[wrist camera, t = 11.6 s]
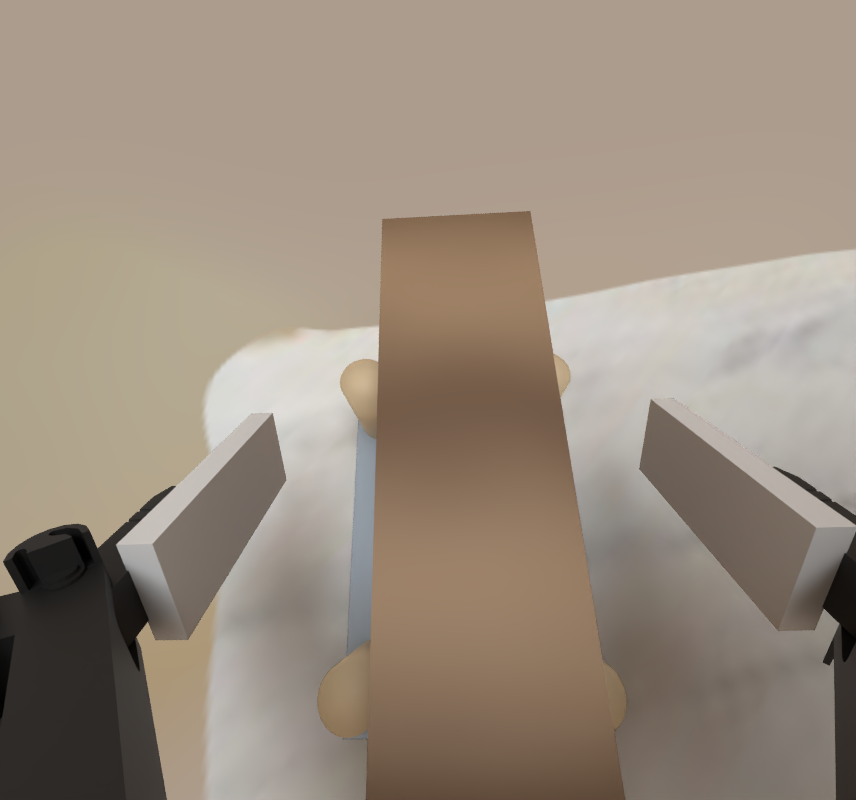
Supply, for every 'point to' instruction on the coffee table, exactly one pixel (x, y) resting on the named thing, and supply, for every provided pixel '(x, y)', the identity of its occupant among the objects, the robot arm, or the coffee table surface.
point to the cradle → (349, 679)
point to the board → (478, 534)
